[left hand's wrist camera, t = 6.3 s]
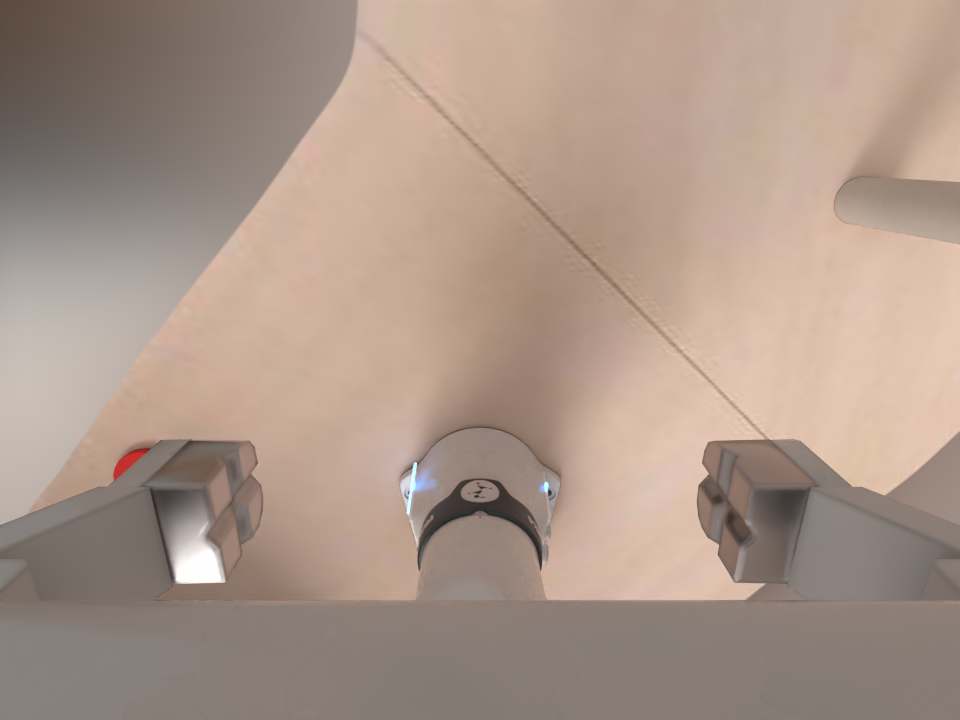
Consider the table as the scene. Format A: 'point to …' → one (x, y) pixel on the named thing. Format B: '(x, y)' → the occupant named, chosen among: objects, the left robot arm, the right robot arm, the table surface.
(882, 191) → the grey cylinder
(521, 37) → the table surface
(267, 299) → the table surface
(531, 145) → the table surface
